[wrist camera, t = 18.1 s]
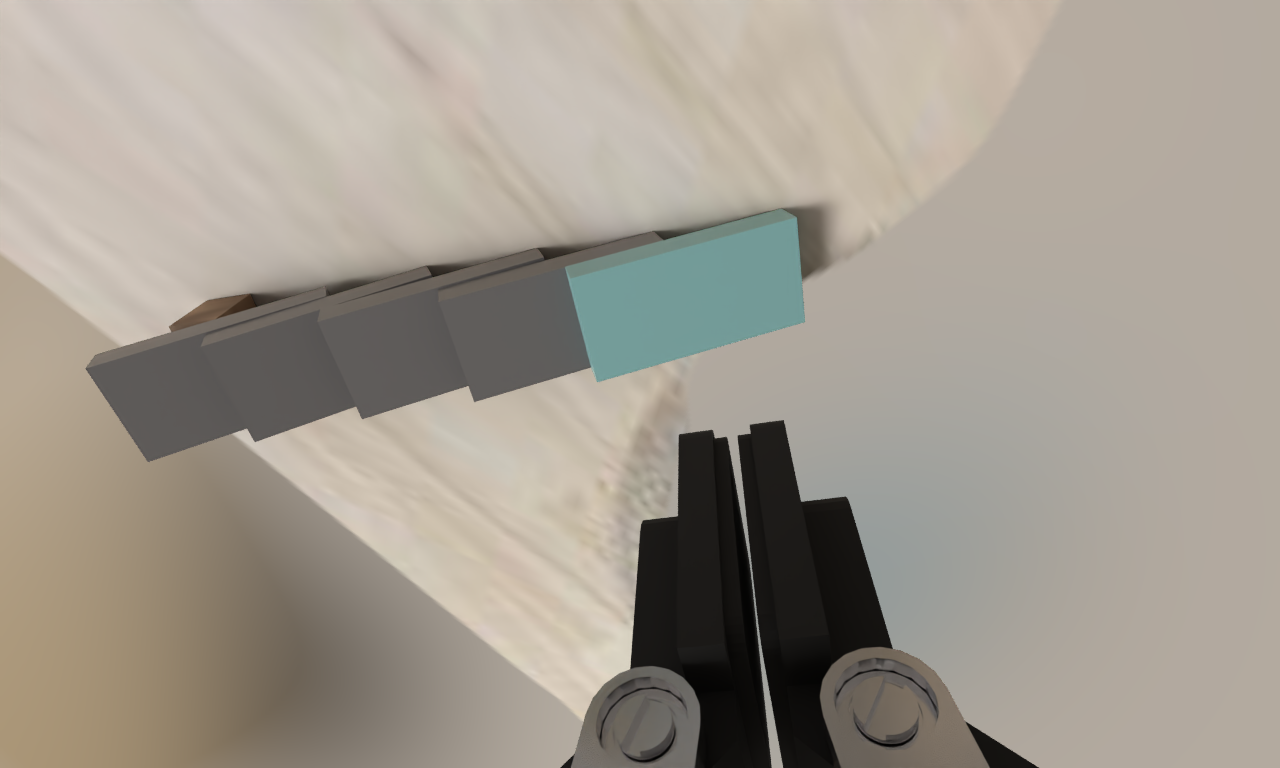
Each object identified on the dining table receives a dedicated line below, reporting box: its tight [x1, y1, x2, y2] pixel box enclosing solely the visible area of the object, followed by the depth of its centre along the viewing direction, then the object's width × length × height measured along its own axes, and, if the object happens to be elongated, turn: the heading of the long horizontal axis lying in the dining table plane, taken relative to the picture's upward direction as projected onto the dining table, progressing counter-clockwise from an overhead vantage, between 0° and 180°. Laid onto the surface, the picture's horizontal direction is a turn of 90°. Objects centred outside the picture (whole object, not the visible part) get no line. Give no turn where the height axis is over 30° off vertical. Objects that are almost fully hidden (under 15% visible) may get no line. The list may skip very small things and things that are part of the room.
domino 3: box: [317, 248, 545, 419], centre depth 32 cm, size 2×5×10 cm
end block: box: [169, 294, 256, 332], centre depth 35 cm, size 2×5×3 cm, turn 10°
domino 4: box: [438, 231, 663, 402], centre depth 31 cm, size 2×5×10 cm
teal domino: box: [565, 209, 805, 382], centre depth 31 cm, size 2×5×10 cm
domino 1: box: [86, 286, 330, 462], centre depth 33 cm, size 2×5×10 cm
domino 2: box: [201, 266, 432, 442], centre depth 32 cm, size 2×5×10 cm
